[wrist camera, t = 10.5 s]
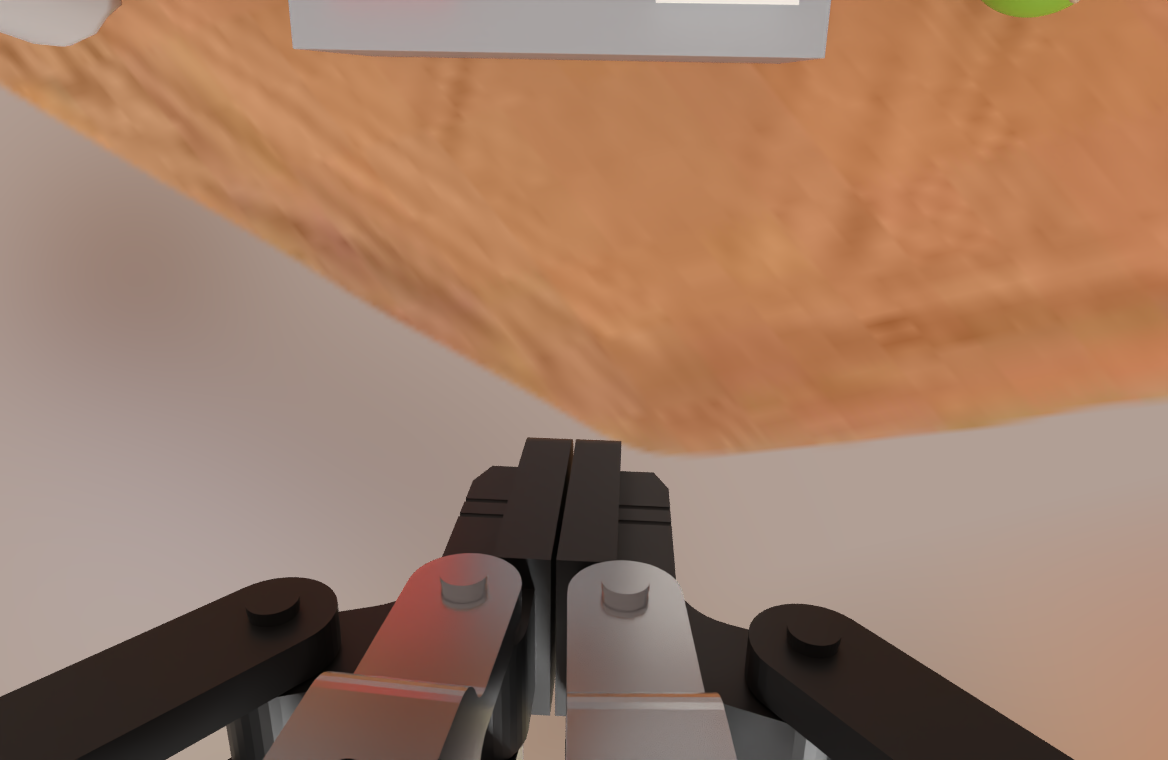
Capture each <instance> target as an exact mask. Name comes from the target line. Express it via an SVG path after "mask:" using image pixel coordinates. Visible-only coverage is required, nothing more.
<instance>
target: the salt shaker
mask: <svg viewBox="0 0 1168 760" xmlns="http://www.w3.org/2000/svg"><path fill="white" fill-rule="evenodd" d="M121 5H122V4H121V0H0V32H1V33H4V34H7V35H10V36H13V37H16V38H19V39H22V40H25V41H28V42H31V43H33V44H42V45H53V46H70V45H73V44H75V43H77V42H80V41H82V40H84V39H86V38H88V37H90V36H92V35H94V34H96V33H97V32H98V30H99V29H100V27H101V26H102V24H103V23H104V21H105V20H106V19H107V17H108V16H109V15H110V14H112V13H113V12H114V11H115V10H116V9H117V8H118V7H119V6H121Z"/></svg>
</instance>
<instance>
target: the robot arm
mask: <svg viewBox="0 0 1168 760" xmlns="http://www.w3.org/2000/svg"><path fill="white" fill-rule="evenodd" d="M620 464H621V441H605V440H580V439H577V440H576V443H575V449H574V455H573V440H572V439H550V438H527V440H526V442H525V446H524V449H523V452H522V456H521V459H520V462H519V466H518V467H504V466H492V467H490V468H489V469H488V470H487V471H485V472H484V473H483V474H481V475H480V476H479V477H477V478H476V479H475V480H473V482H472V485H471V487H470V490H469V492H468V495H467V497H466V502H464V505H463V507H462V509H461V512H460V516H459V517H458V519H457V522H456V524H455V527H454V529H453V531H452V534H451V537H450V539H449V542H448V544H447V546H446V549H445V551H444V554H443V556H442V557H441V558H439V559H435V560H433V561H431V562H429V563H427V564H425V565H423V566H422V567H420V568H419V569H418V570H416V572H414V573H413V575H412V576H411V577H410V578H409V580H408V582H407V583H406V585H405V587H404V588H403V591H402V592H401V594H400V596H399V597H398V599H397V600H396V601H395V602H391V603H388V604H384V605H379V606H374V607H367V608H360V609H354V610H348V611H341V612H338V602H337V597H336V595H335V593H334V592H333V590H332V589H331V588H330V587H328V586H327V585H325V584H323V583H322V582H319V581H316V580H312V579H307V578H299V577H288V578H277V579H271V580H266V581H262V582H259V583H256V584H253V585H250V586H248V587H245V588H243V589H240V590H238V591H236V592H234V593H232V594H229V595H227V596H225V597H223V598H220V599H218V600H216V601H214V602H211V603H209V604H207V605H205V606H202V607H200V608H198V609H196V610H194V611H191V612H189V613H187V614H185V615H182V616H180V617H178V618H176V619H174V620H171V621H169V622H167V623H165V624H162V625H160V626H158V627H156V628H153V629H151V630H149V631H147V632H144V633H142V634H140V635H138V636H135V637H133V638H131V639H129V640H126V641H124V642H122V643H120V644H117V645H115V646H113V647H111V648H109V649H106V650H104V651H102V652H100V653H98V654H95V655H93V656H91V657H88V658H86V659H84V660H82V661H79V662H77V663H75V664H73V665H70V666H68V667H66V668H64V669H62V670H59V671H57V672H55V673H53V674H50V675H48V676H46V677H44V678H41V679H39V680H37V681H35V682H32V683H30V684H28V685H26V686H24V687H21V688H19V689H17V690H15V691H12V692H10V693H8V694H6V695H3V696H1V697H0V760H166V759H168V758H169V757H171V756H173V755H175V754H176V753H178V752H180V751H182V750H184V749H185V748H187V747H189V746H191V745H192V744H194V743H196V742H198V741H199V740H201V739H203V738H205V737H207V736H208V735H210V734H212V733H214V732H216V731H217V730H219V729H221V728H223V727H224V726H226V727H227V732H228V739H229V745H230V751H231V756H232V757H231V758H230V759H228V760H523V759H524V758H523V743H524V741H525V740H526V737H527V733H528V728H529V722H530V716H531V714H533V715H550V711H551V703H552V696H553V688H554V681H555V715H556V716H566V739H565V760H1074V759H1072V758H1071V757H1069V756H1067V755H1066V754H1064V753H1063V752H1061V751H1060V750H1058V749H1056V748H1055V747H1053V746H1051V745H1050V744H1048V743H1047V742H1045V741H1044V740H1042V739H1040V738H1039V737H1037V736H1035V735H1034V734H1033V733H1031V732H1029V731H1028V730H1026V729H1024V728H1023V727H1021V726H1020V725H1018V724H1017V723H1015V722H1014V721H1012V720H1010V719H1009V718H1007V717H1006V716H1004V715H1002V714H1001V713H999V712H998V711H996V710H995V709H993V708H991V707H990V706H988V705H986V704H985V703H983V702H982V701H980V700H979V699H977V698H976V697H974V696H972V695H971V694H969V693H968V692H966V691H964V690H963V689H961V688H960V687H958V686H957V685H955V684H953V683H952V682H950V681H949V680H947V679H945V678H944V677H942V676H941V675H939V674H938V673H936V672H934V671H933V670H931V669H930V668H928V667H926V666H925V665H923V664H922V663H920V662H919V661H917V660H915V659H914V658H912V657H911V656H909V655H907V654H906V653H904V652H903V651H901V650H900V649H898V648H896V647H895V646H893V645H892V644H890V643H888V642H887V641H885V640H883V639H882V638H880V637H879V636H877V635H876V634H874V633H873V632H871V631H869V630H868V629H866V628H865V627H863V626H861V625H860V624H858V623H857V622H855V621H854V620H852V619H850V618H848V617H846V616H844V615H842V614H840V613H838V612H836V611H833V610H830V609H827V608H823V607H819V606H813V605H807V604H785V605H780V606H774V607H771V608H769V609H766V610H764V611H763V612H761V613H759V614H758V615H757V616H756V617H755V618H754V619H753V621H752V622H751V624H750V627H749V630H748V629H744V628H740V627H736V626H732V625H729V624H726V623H722V622H719V621H716V620H714V619H712V618H709V617H707V616H705V615H703V614H702V613H700V612H698V611H697V610H695V609H694V608H693V607H691V606H690V605H689V604H688V603H687V602H686V601H685V600H684V596H683V592H682V589H681V587H680V585H679V584H678V582H677V581H676V576H675V563H674V552H673V541H672V540H673V539H672V527H671V514H670V502H669V490H668V488H667V487H666V486H665V485H664V483H663V482H662V481H661V480H660V479H659V478H658V477H657V476H656V475H655V474H654V473H649V472H626V471H620Z"/></svg>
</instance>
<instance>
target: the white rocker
mask: <svg viewBox="0 0 1168 760" xmlns="http://www.w3.org/2000/svg"><path fill="white" fill-rule="evenodd" d="M655 1H656V3H701V4H769V5H799V0H655Z"/></svg>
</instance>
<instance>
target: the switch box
mask: <svg viewBox="0 0 1168 760" xmlns="http://www.w3.org/2000/svg"><path fill="white" fill-rule="evenodd" d="M288 2H289V12H290V22H291V33H292V43H293V49H301V50H312V51H323V52H333V53H344V54H354V55H365V56H388V57H444V58H499V59H555V60H611V61H666V62H722V63H777V64H780V63H788V62H796V61H805V60H813V59H821V58H825V49H826V40H827V31H828V22H829V13H830V4H831V0H799V5H769V4H701V3H656V1H655V0H288Z"/></svg>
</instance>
